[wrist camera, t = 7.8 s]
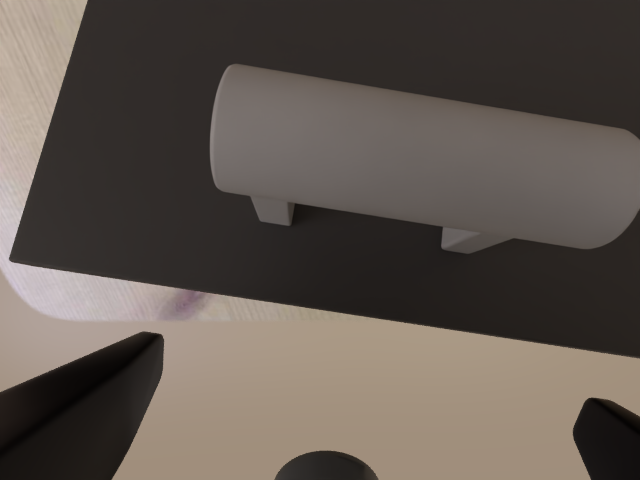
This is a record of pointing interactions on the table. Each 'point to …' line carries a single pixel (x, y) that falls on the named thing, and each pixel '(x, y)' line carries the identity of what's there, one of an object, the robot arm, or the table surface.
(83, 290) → the table surface
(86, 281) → the table surface
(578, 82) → the lid
